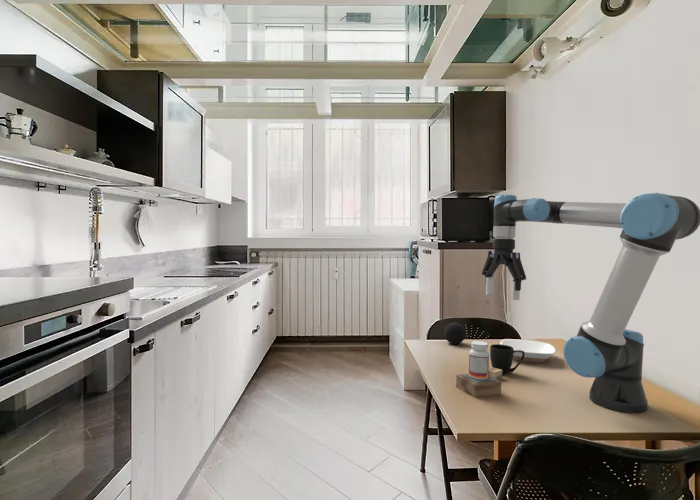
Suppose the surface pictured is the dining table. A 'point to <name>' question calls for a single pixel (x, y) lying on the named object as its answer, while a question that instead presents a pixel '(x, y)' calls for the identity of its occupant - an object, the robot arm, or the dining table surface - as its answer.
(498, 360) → the mug
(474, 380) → the walnut stand
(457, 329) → the speaker
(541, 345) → the bowl
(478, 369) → the pill bottle
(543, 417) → the dining table surface
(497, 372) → the oak offcut
